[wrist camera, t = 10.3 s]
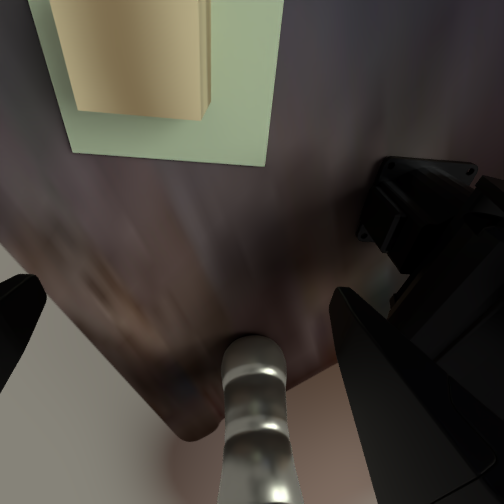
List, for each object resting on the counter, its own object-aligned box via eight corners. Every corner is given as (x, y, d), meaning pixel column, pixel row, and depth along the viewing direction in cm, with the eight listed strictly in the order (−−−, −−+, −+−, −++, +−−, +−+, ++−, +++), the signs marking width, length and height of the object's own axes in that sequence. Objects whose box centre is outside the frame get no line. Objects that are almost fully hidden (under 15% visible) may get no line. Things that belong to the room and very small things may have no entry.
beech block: (211, -20, 13) (197, -50, 9) (211, 101, 16) (200, 120, 12) (98, -34, 12) (30, -72, 8) (120, 93, 15) (77, 110, 11)
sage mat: (297, -126, 11) (298, -131, 11) (264, 164, 18) (264, 166, 18) (-18, -176, 10) (-26, -182, 10) (75, 150, 18) (72, 152, 17)
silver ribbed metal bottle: (210, 339, 30) (174, 689, 14) (267, 318, 28) (304, 691, 12) (240, 368, 33) (239, 673, 17) (292, 351, 31) (347, 673, 15)
